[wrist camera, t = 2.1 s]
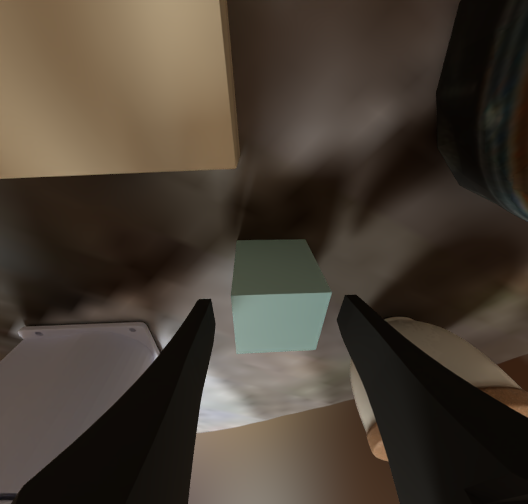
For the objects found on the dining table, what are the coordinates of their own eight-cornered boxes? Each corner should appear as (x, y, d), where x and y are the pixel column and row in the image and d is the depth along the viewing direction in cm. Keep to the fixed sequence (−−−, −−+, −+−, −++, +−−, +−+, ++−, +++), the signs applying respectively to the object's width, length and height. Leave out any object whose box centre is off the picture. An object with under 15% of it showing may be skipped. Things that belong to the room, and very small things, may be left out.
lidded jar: (315, 331, 18) (365, 484, 10) (435, 279, 16) (624, 432, 8) (352, 374, 24) (405, 499, 16) (448, 341, 21) (568, 471, 13)
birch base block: (83, 161, 10) (-2, 178, 7) (-63, -140, 6) (-522, -534, 2) (240, 154, 10) (236, 168, 7) (215, -137, 6) (170, -481, 3)
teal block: (240, 290, 15) (236, 353, 11) (236, 239, 13) (230, 295, 9) (297, 289, 15) (315, 349, 11) (305, 239, 13) (331, 292, 9)
